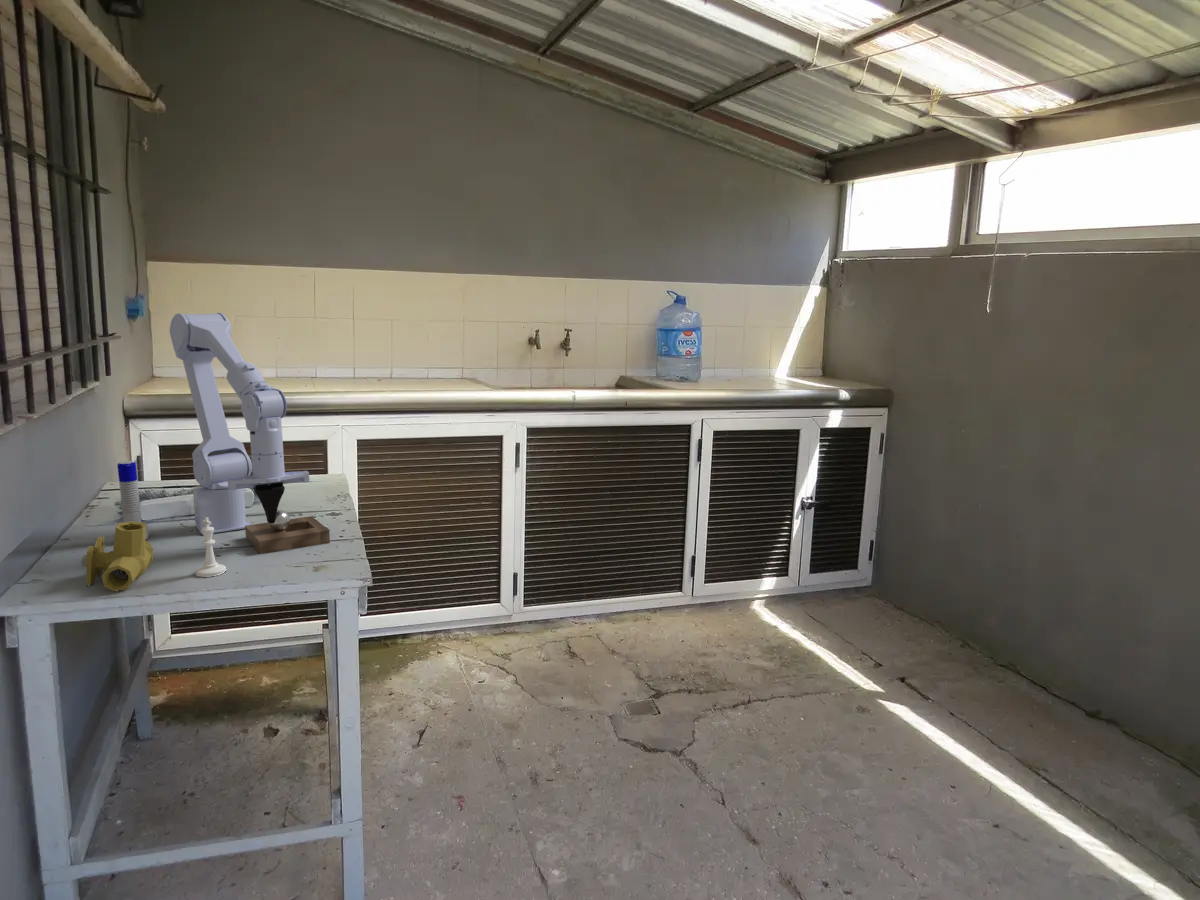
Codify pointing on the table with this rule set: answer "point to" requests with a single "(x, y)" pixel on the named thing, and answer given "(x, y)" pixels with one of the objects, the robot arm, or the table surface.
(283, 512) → the steel ball
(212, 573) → the chess piece
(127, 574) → the ball valve
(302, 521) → the pocket board
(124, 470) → the bolt
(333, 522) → the table surface
